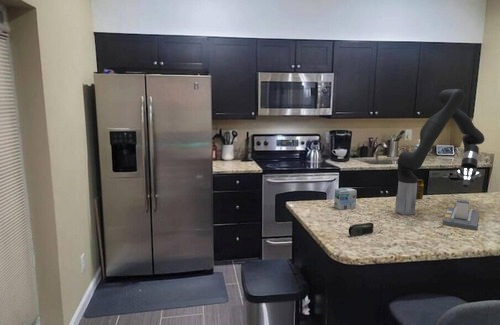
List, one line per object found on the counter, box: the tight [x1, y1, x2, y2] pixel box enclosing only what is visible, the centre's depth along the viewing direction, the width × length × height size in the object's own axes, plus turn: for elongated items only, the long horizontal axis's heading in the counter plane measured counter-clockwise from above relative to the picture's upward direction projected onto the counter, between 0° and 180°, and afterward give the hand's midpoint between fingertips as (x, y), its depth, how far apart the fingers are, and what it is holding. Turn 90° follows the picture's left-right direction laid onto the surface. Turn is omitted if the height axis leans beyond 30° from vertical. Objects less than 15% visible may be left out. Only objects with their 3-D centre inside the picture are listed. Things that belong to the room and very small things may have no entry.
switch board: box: [442, 206, 480, 231], centre depth 176 cm, size 28×14×4 cm, turn 145°
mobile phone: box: [347, 222, 374, 238], centre depth 155 cm, size 5×3×15 cm
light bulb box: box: [333, 187, 357, 211], centre depth 196 cm, size 11×7×11 cm, turn 105°
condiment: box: [416, 178, 425, 201], centre depth 217 cm, size 7×8×12 cm
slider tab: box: [455, 198, 471, 219], centre depth 172 cm, size 4×5×9 cm
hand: (465, 186), depth 183 cm, fingers closed
